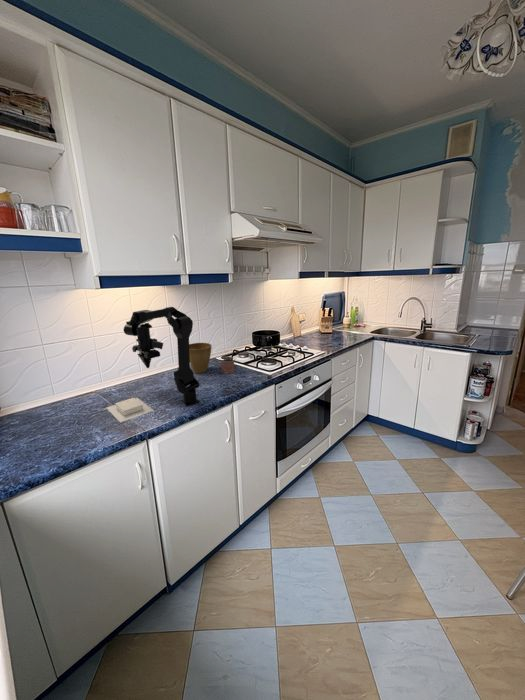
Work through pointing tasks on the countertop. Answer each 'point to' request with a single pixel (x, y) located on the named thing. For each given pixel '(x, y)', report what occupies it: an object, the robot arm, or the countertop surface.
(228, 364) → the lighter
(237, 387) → the countertop surface
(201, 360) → the plant pot
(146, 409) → the beige board
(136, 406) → the tile
